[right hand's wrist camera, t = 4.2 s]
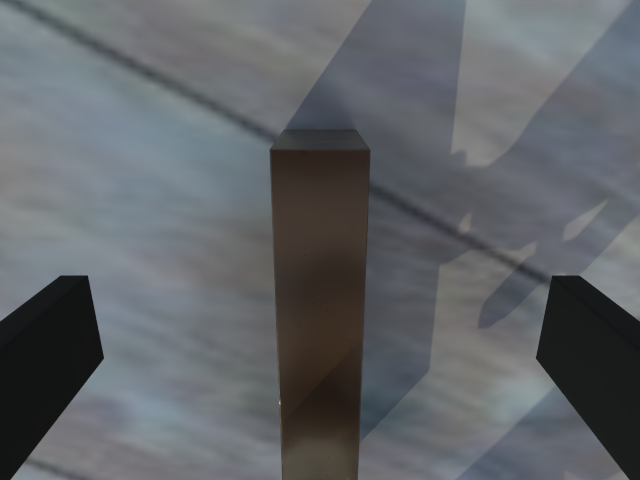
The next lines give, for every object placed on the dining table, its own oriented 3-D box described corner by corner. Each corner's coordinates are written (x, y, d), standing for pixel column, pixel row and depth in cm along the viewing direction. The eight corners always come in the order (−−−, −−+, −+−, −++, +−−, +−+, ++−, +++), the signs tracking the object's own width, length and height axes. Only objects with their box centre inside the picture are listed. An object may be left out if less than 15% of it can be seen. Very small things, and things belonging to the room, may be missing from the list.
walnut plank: (283, 129, 27) (269, 149, 20) (356, 129, 27) (370, 149, 20) (292, 456, 36) (285, 555, 29) (347, 456, 36) (354, 555, 29)
